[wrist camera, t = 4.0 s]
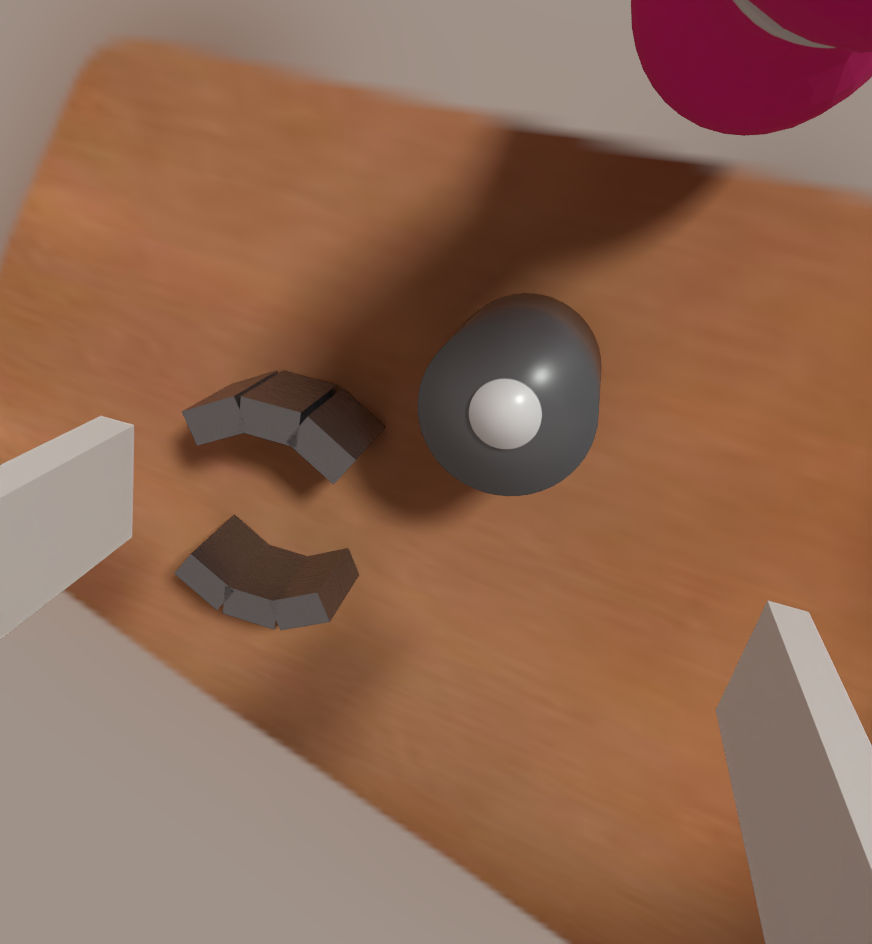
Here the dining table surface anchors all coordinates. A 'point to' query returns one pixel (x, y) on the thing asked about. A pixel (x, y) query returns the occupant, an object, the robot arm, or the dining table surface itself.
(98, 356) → the dining table surface
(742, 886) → the dining table surface
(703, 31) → the pepper mill
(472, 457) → the cap
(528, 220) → the dining table surface
